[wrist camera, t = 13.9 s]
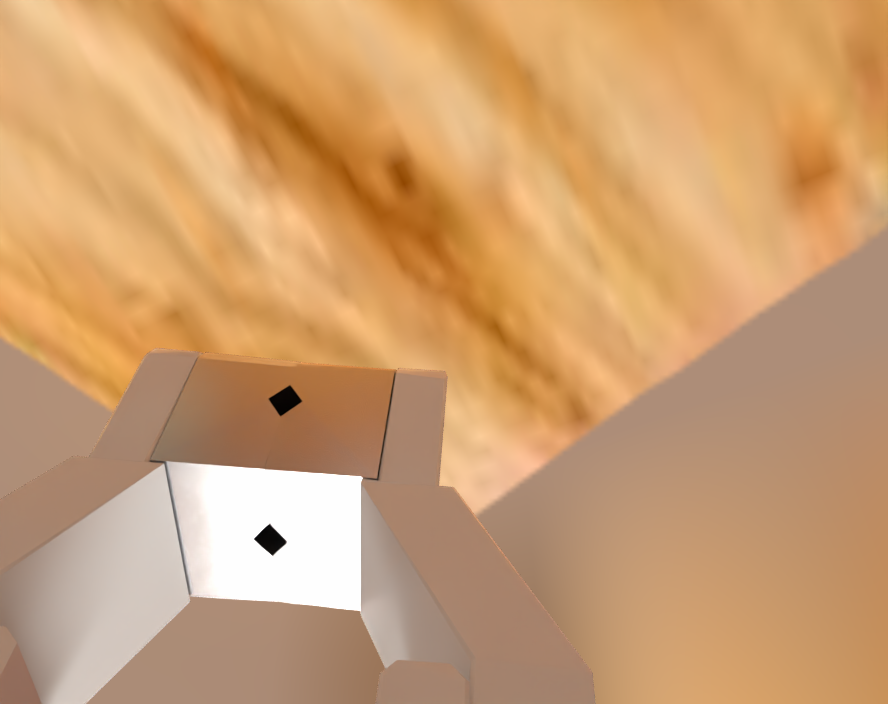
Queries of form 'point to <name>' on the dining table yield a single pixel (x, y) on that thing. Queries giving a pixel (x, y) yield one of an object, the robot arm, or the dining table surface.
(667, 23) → the dining table surface
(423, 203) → the dining table surface
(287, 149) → the dining table surface
